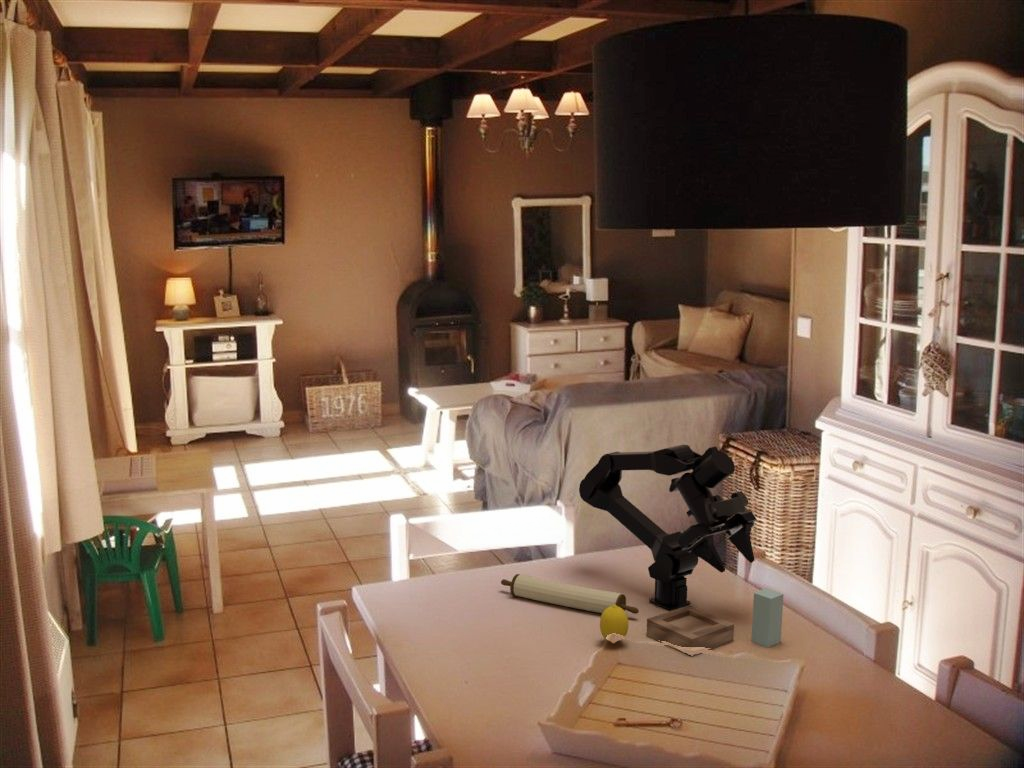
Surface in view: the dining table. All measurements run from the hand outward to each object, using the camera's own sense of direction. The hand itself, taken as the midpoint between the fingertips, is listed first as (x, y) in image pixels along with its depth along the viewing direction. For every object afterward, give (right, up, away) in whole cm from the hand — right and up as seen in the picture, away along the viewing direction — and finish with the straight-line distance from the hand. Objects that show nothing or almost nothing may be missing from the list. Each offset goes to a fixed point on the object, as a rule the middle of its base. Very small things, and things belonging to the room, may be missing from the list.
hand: (738, 566), depth 207 cm
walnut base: (-10, -14, -2) cm, 17 cm away
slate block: (+5, -14, -3) cm, 15 cm away
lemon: (-26, -14, -5) cm, 30 cm away
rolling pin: (-33, -11, +14) cm, 38 cm away
